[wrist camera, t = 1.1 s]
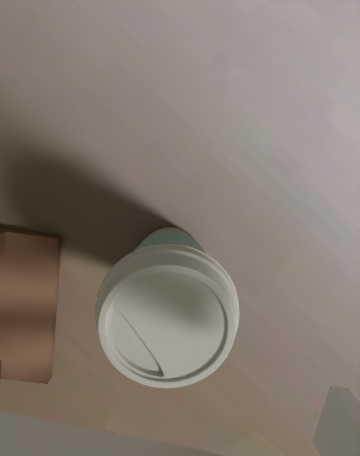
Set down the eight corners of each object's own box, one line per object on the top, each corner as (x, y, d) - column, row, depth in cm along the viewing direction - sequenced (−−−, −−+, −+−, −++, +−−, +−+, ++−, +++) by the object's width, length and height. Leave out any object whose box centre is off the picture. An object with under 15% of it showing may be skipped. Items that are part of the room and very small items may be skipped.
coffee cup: (122, 211, 26) (81, 253, 15) (217, 212, 27) (251, 255, 15) (125, 299, 28) (91, 397, 17) (213, 299, 29) (241, 397, 17)
